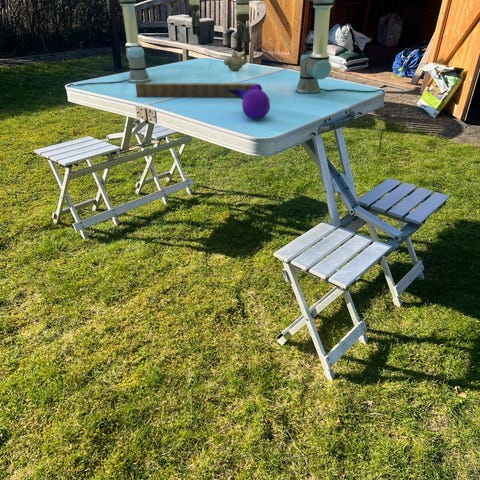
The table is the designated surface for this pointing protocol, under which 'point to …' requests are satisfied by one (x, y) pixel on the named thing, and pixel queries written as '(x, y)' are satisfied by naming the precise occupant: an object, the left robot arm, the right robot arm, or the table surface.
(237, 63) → the teapot
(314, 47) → the right robot arm
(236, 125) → the table surface
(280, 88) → the table surface
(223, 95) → the bar
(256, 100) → the toy
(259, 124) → the table surface
